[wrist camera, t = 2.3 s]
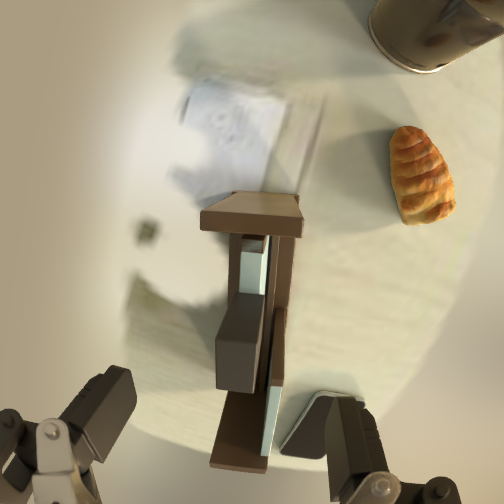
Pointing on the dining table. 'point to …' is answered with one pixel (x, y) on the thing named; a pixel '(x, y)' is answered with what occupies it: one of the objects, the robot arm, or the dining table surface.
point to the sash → (243, 320)
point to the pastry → (419, 178)
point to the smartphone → (312, 428)
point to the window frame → (274, 322)
